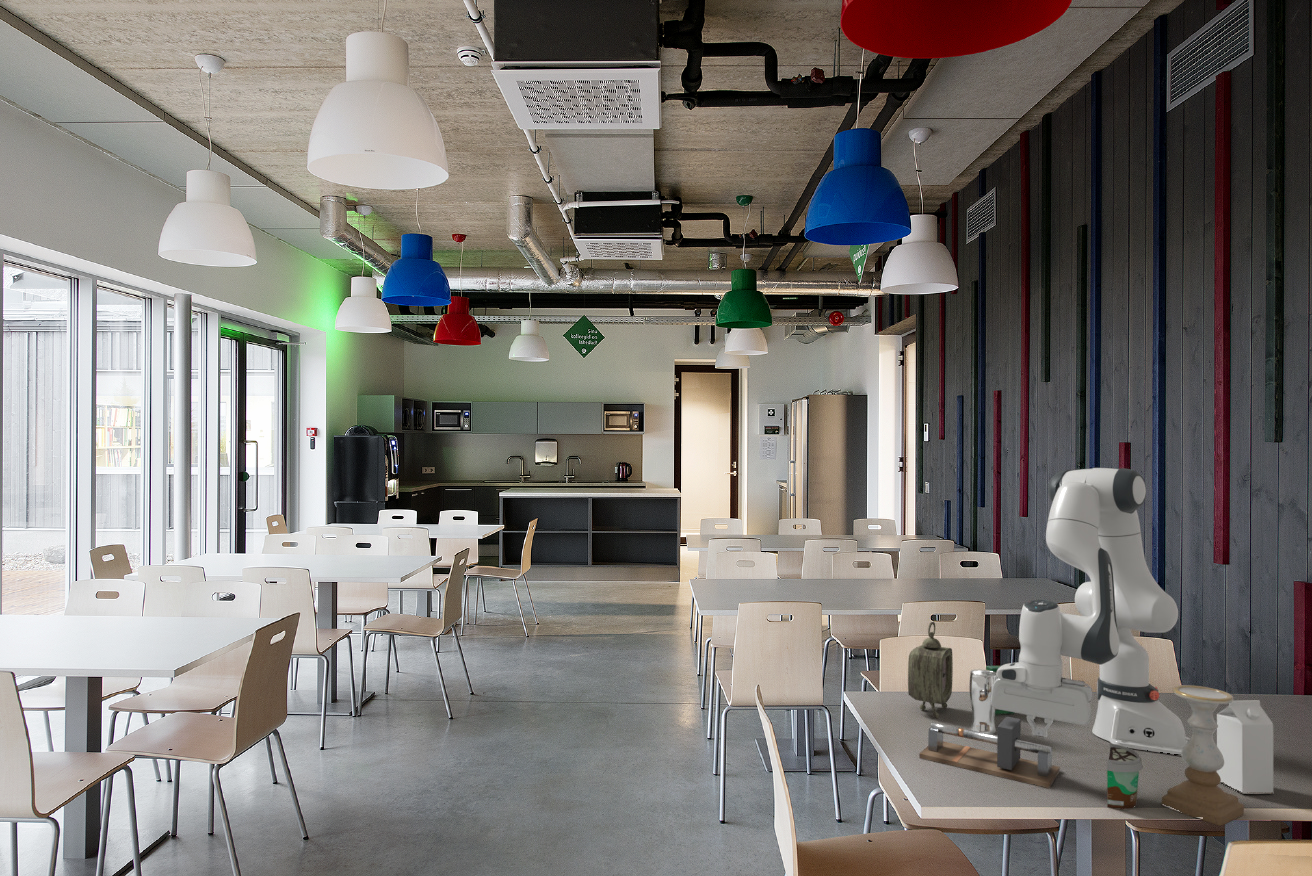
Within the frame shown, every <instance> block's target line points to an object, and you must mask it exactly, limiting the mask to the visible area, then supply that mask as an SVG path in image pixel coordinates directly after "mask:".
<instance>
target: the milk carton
mask: <svg viewBox="0 0 1312 876" xmlns="http://www.w3.org/2000/svg"><path fill="white" fill-rule="evenodd" d="M1216 723H1217V725H1218V728H1216V746H1217V747H1218V749H1219V750H1220V752H1221V753H1222V755H1223V758H1224V766H1223V767H1222V768H1221V769H1220V770H1218V771H1216V772H1217V773H1218V774H1219V776H1220V778H1221V782H1224V783H1225V784H1227V785H1228V786H1231V787H1232V788H1234V789H1237V790H1239V791H1241V792H1243V793H1247V792H1248V793H1249V792H1273V793H1274V723H1273V722H1272V720H1271V718H1270V717H1269V716H1268V714H1267V713H1266V711H1265V710H1264V709H1263V707H1262V706H1261V701H1260V700H1259V699H1257V700H1253V699H1250V700H1247V699H1246V700H1233V701H1232V702H1231V703H1228V706H1226V707H1225V708H1224V709H1222V710H1221V711H1219V712H1218V713H1217V714H1216Z"/></svg>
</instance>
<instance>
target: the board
mask: <svg viewBox="0 0 1312 876" xmlns="http://www.w3.org/2000/svg"><path fill="white" fill-rule="evenodd" d="M918 755H919V757H918V758H920V759H923V760H927V761H930V762H936V763H940V764H944V765H948V766H953V767H957V768H962V769H965V770H969V771H973V772H979V773H983V774H986V773H987V774H988V775H991V776H996V777H999V778H1002V779H1003V778H1004V779H1007V780H1013V781H1017V782H1022V783H1024V782H1025V784H1029V785H1033V784H1035V785H1034V786H1038V787H1041V786H1043V787H1042V788H1046V789H1051V787H1050V786H1052V785H1053V783H1054V782H1055V779H1056V778H1057V776H1058V774H1059V773H1060V769H1061V768H1060V766H1058V765H1053V764H1052V771H1051V773H1050V774H1049V776H1048V777H1043V776H1039V775H1038V761H1035V760H1029V759H1026V758H1022V757H1020V759H1019V761H1018V762H1017V763H1016V765H1015V766H1014V767H1013V769H1012V770H1009V769H1004V768H1000V767H997V752H994V751H989V750H985V749H979V748H976V747H971V746H967V745H961V744H957V743H952V742H948V741H944V740H943V747H942V748H941V749H940V750H939V751H938V752H934V751H929V750H928V746H926V747H925V748H924V749H923V750H922V751H921V752H920V753H919V754H918ZM987 774H986V775H987Z"/></svg>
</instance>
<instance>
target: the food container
mask: <svg viewBox="0 0 1312 876" xmlns="http://www.w3.org/2000/svg"><path fill="white" fill-rule="evenodd" d="M1106 761H1107V763H1106V771H1107V772H1106V774H1107V777H1106V779H1107V780H1106V781H1107V782H1106V783H1107V784H1106V785H1107V786H1106V788H1107V789H1106V790H1107V792H1106V793H1107V794H1106V795H1107V796H1106V799H1107V806H1106V807H1107V808H1109V809H1115V810H1131V809H1134V808H1135V807H1136V806H1137V801H1138V800H1137V799H1138V789H1139V788H1138V787H1139V774H1140V771H1142V770H1143V769H1144V766H1143V762H1142V758H1141V757H1140V754H1139V753H1138V752H1137V751H1135V750H1133V749H1132V748H1127V747H1124V746H1120V745H1116V744H1112V743H1111V742H1110V743H1109V755H1108V758H1107V759H1106ZM1134 806H1135V807H1134ZM1133 807H1134V808H1133Z"/></svg>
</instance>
